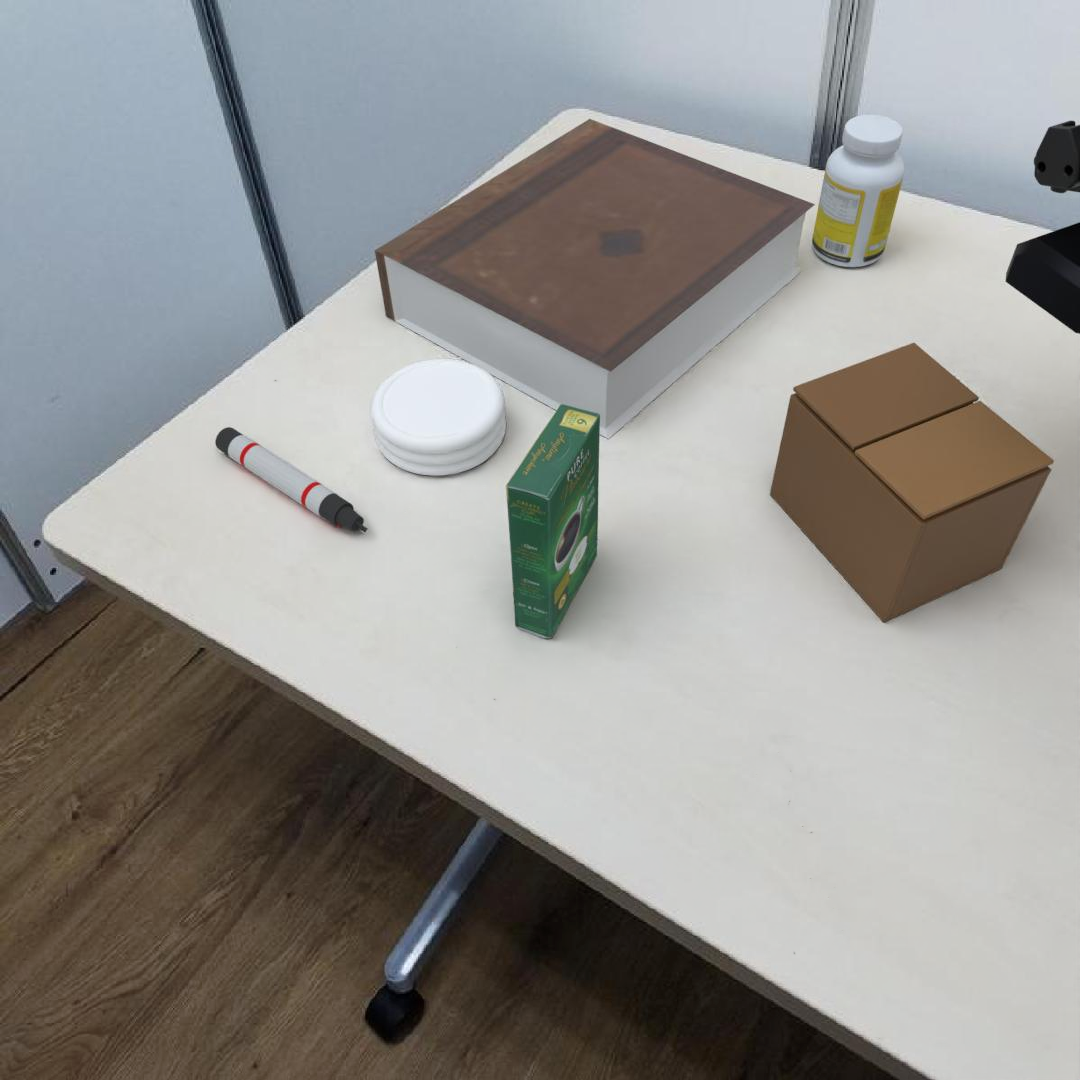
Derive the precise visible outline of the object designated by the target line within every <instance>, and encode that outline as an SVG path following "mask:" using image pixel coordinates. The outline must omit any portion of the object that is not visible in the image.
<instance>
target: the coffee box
mask: <svg viewBox="0 0 1080 1080" xmlns="http://www.w3.org/2000/svg"><path fill="white" fill-rule="evenodd" d="M599 433H600V414H598V413H594V412H590V411H586V410H582V409H579V408H575V407H571V406H567V405H563V404H561V405H560V406H559V407H558V409H557V410H555V411H554V413H553V414H552V416H551V418H550V419H549V420H548V422H547V424H546V425H545V427H544V428H543V429H542V431H541V433H540V434H539V436H538V437H537V438H536V440H535V441H534V443H533V444H532V446H531V448H530V449H529V450H528V452H527V453H526V455H525V456H524V458H523V459H522V461H521V462H520V464H519V465H518V467H517V468H516V469H515V471H514V473H513V475H512V476H511V477H510V479H509V480H508V482H507V483H506V485H505V491H506V493H505V494H506V505H507V518H508V533H509V534H508V535H509V548H510V565H511V578H512V597H513V612H514V626H515V628H517V629H519V630H520V631H524V632H526V633H530V634H531V635H533V636H537V637H539V638H543V639H552V638H553V636H554V634H555V632H556V631H557V628H558V627H559V625H560V624H561V622H562V621H563V619H564V617H565V615H566V612H567V611H568V609H569V607H570V604H571V603H572V601H573V599H574V597H575V596H576V594H577V592H578V590H579V589H580V587H581V585H582V584H583V581H584V579H586V577H587V574H588V572H589V571H590V569H591V567H592V565H593V564H594V561H595V559H596V558H597V556H598V552H597V551H598V540H599V539H598V534H599V533H598V532H599V530H598V529H599V481H600V480H599V479H600V477H599V476H600V474H599V473H600V434H599Z"/></svg>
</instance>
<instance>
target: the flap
mask: <svg viewBox="0 0 1080 1080" xmlns="http://www.w3.org/2000/svg"><path fill="white" fill-rule="evenodd" d="M855 454H856V455H857V456H858V457H859V458H860V459H861V460H862V461H863V462H864V463H865V464H866V465H867V466H868V467H869V468H870V469H871V470H872V471H873V472H874V473H875V474H876V475H877V476H878V477H879V478H880V479H882V480H883V481H884V482H885V483H886V484H887V485H888V486H889V487H890V488H891V489H892V490H893V491H894V492H895V493H896V494H897V495H898V496H899V497H900V498H901V499H902V500H903V501H904V502H905V503H906V504H908V505H909V506H910V507H911V508H912V509H913V510H914V511H915V512H916V513H917V514H918V515H919V516H920V517H921V518H922V519H926V518H928V517H931V516H933V515H935V514H938V513H940V512H942V511H945V510H947V509H949V508H951V507H954V506H956V505H958V504H961V503H963V502H965V501H968V500H970V499H972V498H975V497H977V496H979V495H982V494H984V493H986V492H989V491H991V490H993V489H996V488H998V487H1000V486H1003V485H1005V484H1007V483H1010V482H1012V481H1014V480H1017V479H1019V478H1021V477H1024V476H1026V475H1028V474H1031V473H1033V472H1035V471H1038V470H1040V469H1042V468H1045V467H1047V466H1048V467H1049V466H1051V465H1053V464H1054V462H1055V460H1054V459H1053V458H1052V457H1051V456H1049V455H1048V454H1047V453H1046V452H1044V451H1043V450H1042V449H1041V448H1039V446H1037V445H1036V444H1035V443H1033V442H1032V441H1031V440H1030V439H1028V438H1027V437H1026V436H1025V435H1023V434H1022V433H1021V432H1019V431H1018V430H1017V429H1016V428H1015V427H1014V426H1012V425H1011V424H1010V423H1009V422H1007V421H1006V420H1005V419H1004V418H1002V417H1001V416H1000V415H999V414H998V413H996V412H995V411H994V410H992V408H990V407H989V406H988V405H987V404H986V403H984V402H983V401H981V400H978V401H976V402H973V404H971V405H968V406H966V407H963V408H961V409H958V410H955V411H953V412H950V413H948V414H945V415H943V416H940V417H938V418H935V419H933V420H930V421H928V422H925V423H923V424H920V425H918V426H915V427H913V428H910V429H908V430H905V431H903V432H900V433H898V434H895V435H893V436H890V437H888V438H885V439H882V440H880V441H877V442H875V443H872V444H870V445H867V446H865V447H862V448H860V449H857V450H855Z"/></svg>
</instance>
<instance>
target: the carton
mask: <svg viewBox="0 0 1080 1080" xmlns="http://www.w3.org/2000/svg"><path fill="white" fill-rule="evenodd" d="M792 391H793V392H794V393H792V394H790V397H789V400H788V401H789V402H788V406H787V410H786V415H785V420H784V425H783V430H782V433H781V434H782V435H781V439H780V444H779V447H778V454H777V459H776V463H775V467H774V472H773V478H772V482H771V487H770V491H769V496H770V497H771V498H772V499H773V500H774V501H775V502H776V503H777V504H778V505H779V507H780V508H781V509H782V510H783V511H784V512H785V513H786V514H787V516H789V518H790V519H791V520H792V521H793V522H794V523H795V525H796V526H797V527H798V528H799V529H800V530H801V531H802V532H803V534H804V535H805V536H806V537H807V538H808V539H809V540H810V541H811V543H812V544H813V545H814V546H815V547H816V548H817V549H818V550H819V551H820V553H821V554H822V555H823V556H824V557H825V558H826V560H828V562H829V563H830V564H831V566H833V567H834V568H835V569H836V571H837V572H838V573H839V574H840V575H841V576H842V578H843V579H844V580H845V581H846V582H847V583H848V585H850V586H851V588H852V589H853V590H854V591H855V592H856V593H857V594H858V596H860V597H861V599H862V600H863V601H864V602H865V604H867V605H868V606H869V608H870V609H871V610H872V612H874V613H875V615H876V616H877V617H878V618H879V619H880V620H881V621H882V622H883V623H886V622H889V621H891V620H893V619H895V618H897V617H899V616H901V615H904V614H906V613H908V612H910V611H912V610H914V609H917V608H919V607H922V606H923V605H925V604H928V603H930V602H932V601H934V600H936V599H938V598H941V597H943V596H945V595H948V594H950V593H951V592H954V591H956V590H957V589H960V588H962V587H964V586H967V585H969V584H971V583H973V582H976V581H978V580H981V579H982V578H984V577H986V576H990V575H991V574H993V573H996V572H997V571H1000V570H1002V569H1003V567H1004V565H1005V563H1006V561H1007V559H1008V557H1009V555H1010V553H1011V551H1012V549H1013V547H1014V545H1015V544H1016V541H1017V539H1018V537H1019V535H1020V533H1021V531H1022V530H1023V528H1024V525H1025V524H1026V522H1027V519H1028V517H1029V516H1030V514H1031V512H1032V510H1033V508H1034V506H1035V504H1036V502H1037V500H1038V498H1039V495H1040V494H1041V492H1042V490H1043V488H1044V485H1045V484H1046V481H1047V479H1048V478H1049V475H1050V473H1051V471H1052V468H1051V467H1049V466H1047V467H1045V468H1042V469H1040V470H1038V471H1035V472H1033V473H1031V474H1028V475H1026V476H1024V477H1021V478H1019V479H1017V480H1014V481H1012V482H1010V483H1007V484H1005V485H1003V486H1000V487H998V488H996V489H993V490H991V491H989V492H986V493H984V494H982V495H979V496H977V497H975V498H972V499H970V500H968V501H965V502H963V503H961V504H958V505H956V506H954V507H951V508H949V509H947V510H945V511H942V512H940V513H938V514H935V515H933V516H931V517H928V518H926V519H922V518H921V517H920V516H919V515H918V514H917V513H916V512H915V511H914V510H913V509H912V508H911V507H910V506H909V505H908V504H906V503H905V502H904V501H903V500H902V499H901V498H900V497H899V496H898V495H897V494H896V493H895V492H894V491H893V490H892V489H891V488H890V487H889V486H888V485H887V484H886V483H885V482H884V481H883V480H882V479H880V478H879V477H878V476H877V475H876V474H875V473H874V472H873V471H872V470H871V469H870V468H869V467H868V466H867V465H866V464H865V463H864V462H863V461H862V460H861V459H860V458H859V457H858V456H857V455H856V454H855V450H857V449H860V448H862V447H865V446H867V445H870V444H872V443H875V442H877V441H880V440H882V439H885V438H888V437H890V436H893V435H895V434H898V433H900V432H903V431H905V430H908V429H910V428H913V427H915V426H918V425H920V424H923V423H925V422H928V421H930V420H933V419H935V418H938V417H940V416H943V415H945V414H948V413H950V412H953V411H955V410H958V409H961V408H963V407H966V406H968V405H971V404H973V403H976V402H978V401H979V399H980V396H978V395H977V394H976V393H975V392H973V391H972V390H971V388H969V387H968V386H967V385H965V384H964V383H963V382H962V381H961V380H959V379H958V377H956V376H954V374H952V373H951V372H950V371H949V370H947V369H946V368H945V367H944V366H943V365H942V364H940V363H939V362H938V361H937V360H936V359H935V358H934V357H932V356H931V355H930V354H928V352H927V351H925V350H924V349H923V348H921V347H920V346H919V345H918V344H917V343H916V342H912V343H908V344H906V345H904V346H900V347H898V348H894V349H893V350H889V351H887V352H884V353H882V354H879V355H877V356H874V357H871V358H868V359H866V360H863V361H860V362H857V363H855V364H852V365H849V366H846V367H844V368H841V369H839V370H836V371H832V372H829V373H827V374H825V375H822V376H820V377H819V376H818V377H816V378H814V379H811V380H809V381H808V380H807V381H806V382H803V383H801V384H798V385H795V386H793V388H792Z"/></svg>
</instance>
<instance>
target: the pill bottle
mask: <svg viewBox="0 0 1080 1080" xmlns="http://www.w3.org/2000/svg"><path fill="white" fill-rule="evenodd" d="M903 133H904V129H903V126H902V125H901V124H900V123H899V122H897V121H896V120H895V119H892V118H891V117H887V116H884V115H877V114H862V115H857V116H854V117H852V118H850V119H849V120H847V122H846V123H845V125H844V128H843V133H842V137H841V138H842V139H841V142H842V145H840V146H839V147H837V148H836V149H835V150H834V151H833V152H832V153H830V155H829V157H828V159H827V161H826V165H825V170H824V175H823V179H822V185H821V191H820V195H819V201H818V207H817V212H816V216H815V222H814V227H813V233H812V237H811V238H812V239H811V242H812V243H811V245H812V249H813V250H814V252H815V254H816V255H817V256H818V257H820V258H821V260H824V261H825V262H827V263H829V264H833V265H835V266H839V267H846V268H859V267H864V266H869V265H871V264H873V263H875V262H876V261H878V260H879V259H880V258H881V257H882V255H883V254H884V252H885V249H886V246H887V242H888V238H889V234H890V231H891V227H892V222H893V218H894V215H895V211H896V207H897V204H898V199H899V196H900V192H901V187H902V184H903V179H904V175H905V171H906V170H905V162H904V160H903V157H902V156H901V155H900V153H898V152H897V151H898V150H899V149H900V146H901V143H902V137H903Z"/></svg>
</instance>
